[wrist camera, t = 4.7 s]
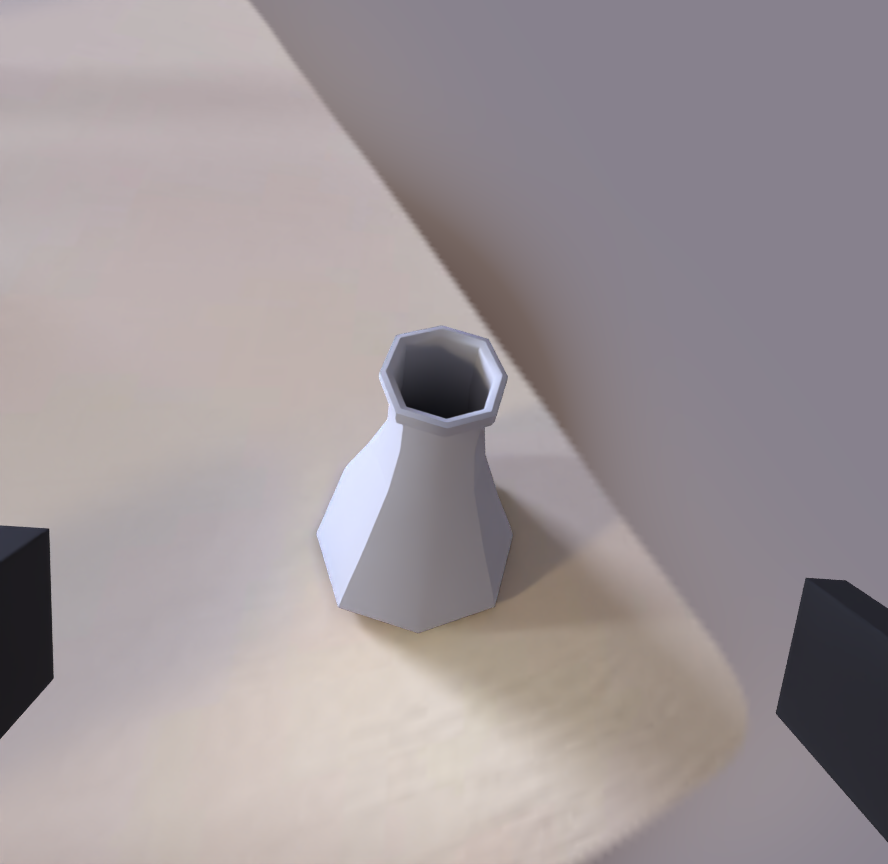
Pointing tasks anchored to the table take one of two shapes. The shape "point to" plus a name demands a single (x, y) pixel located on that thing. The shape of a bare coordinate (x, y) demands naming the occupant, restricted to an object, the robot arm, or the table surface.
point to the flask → (423, 490)
